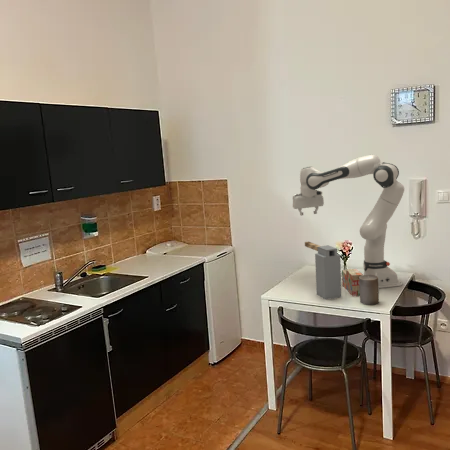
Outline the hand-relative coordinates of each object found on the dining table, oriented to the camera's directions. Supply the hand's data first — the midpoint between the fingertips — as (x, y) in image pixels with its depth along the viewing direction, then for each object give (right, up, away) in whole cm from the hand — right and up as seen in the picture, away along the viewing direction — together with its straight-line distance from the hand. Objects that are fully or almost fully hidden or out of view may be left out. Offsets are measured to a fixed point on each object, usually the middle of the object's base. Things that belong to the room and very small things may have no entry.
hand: (308, 214), depth 285 cm
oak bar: (0, -21, -22) cm, 30 cm away
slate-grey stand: (+6, -47, -31) cm, 56 cm away
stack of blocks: (+21, -45, -24) cm, 55 cm away
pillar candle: (+24, -48, -45) cm, 70 cm away
